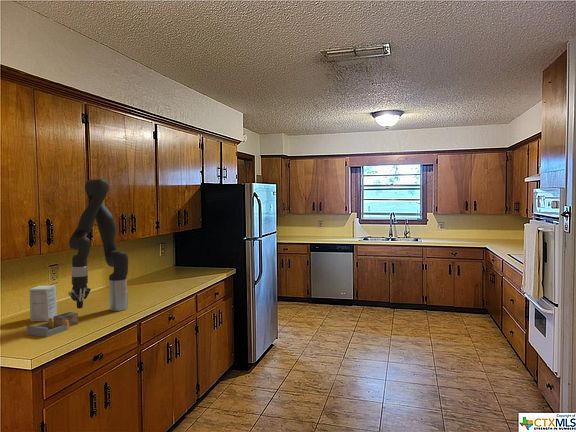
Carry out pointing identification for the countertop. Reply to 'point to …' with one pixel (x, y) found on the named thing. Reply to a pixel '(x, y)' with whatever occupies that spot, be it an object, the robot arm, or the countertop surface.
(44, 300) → the supplement box
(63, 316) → the grey block
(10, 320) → the countertop surface
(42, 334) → the bay
